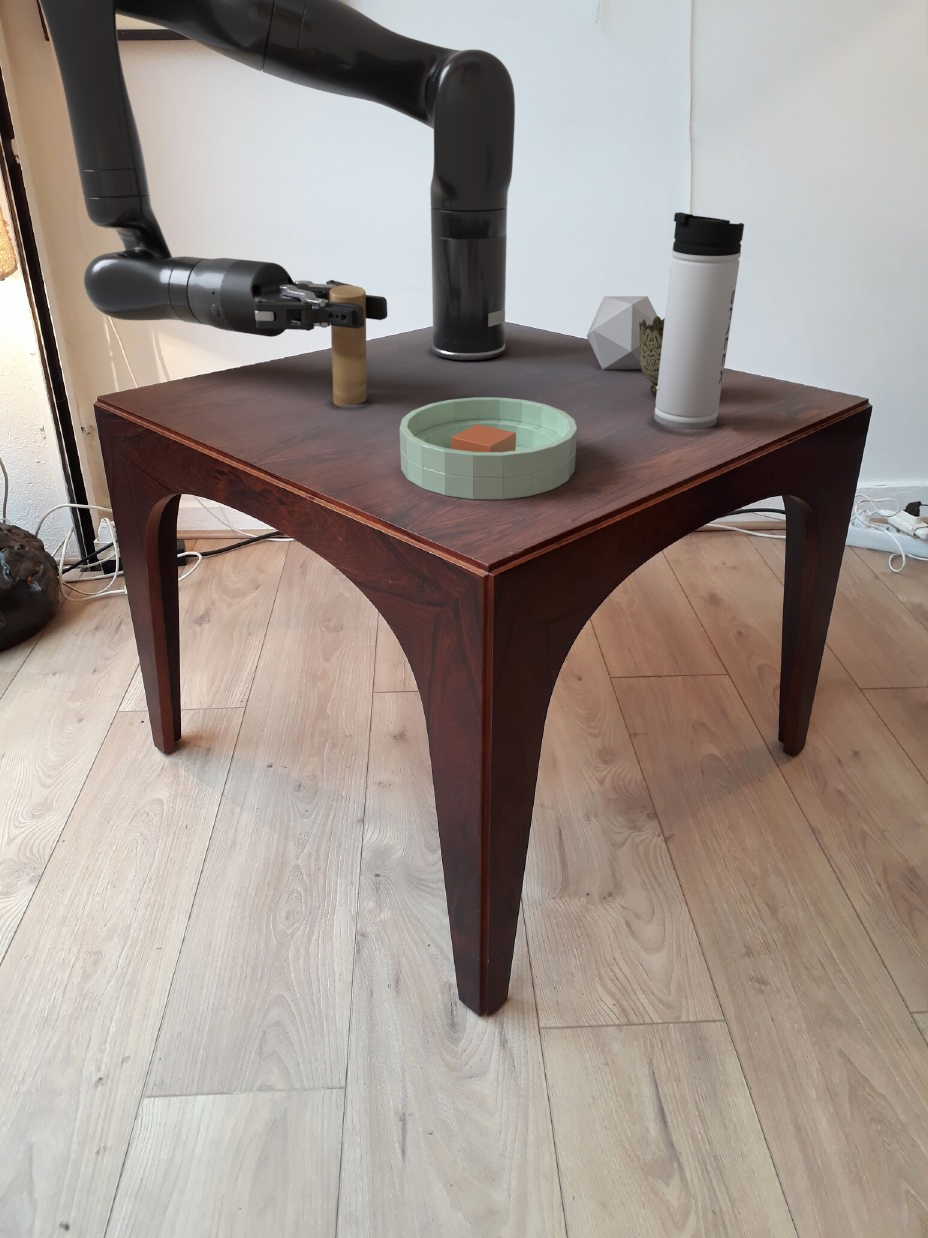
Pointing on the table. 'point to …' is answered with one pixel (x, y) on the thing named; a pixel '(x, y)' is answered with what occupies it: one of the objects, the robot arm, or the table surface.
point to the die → (620, 330)
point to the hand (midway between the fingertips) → (373, 312)
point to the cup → (651, 350)
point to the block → (484, 440)
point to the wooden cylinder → (349, 351)
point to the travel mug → (697, 320)
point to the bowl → (488, 474)
